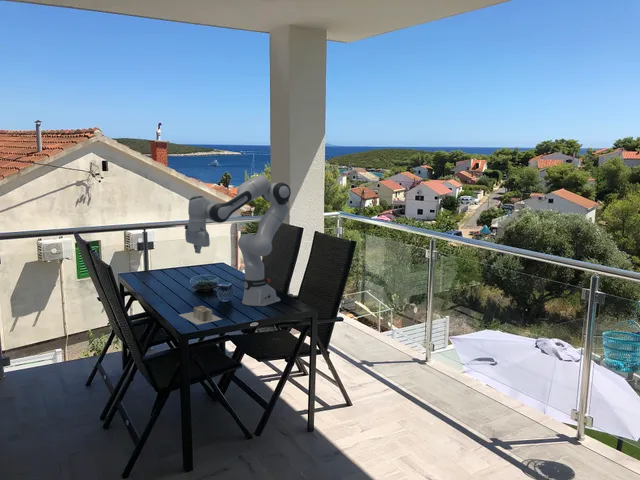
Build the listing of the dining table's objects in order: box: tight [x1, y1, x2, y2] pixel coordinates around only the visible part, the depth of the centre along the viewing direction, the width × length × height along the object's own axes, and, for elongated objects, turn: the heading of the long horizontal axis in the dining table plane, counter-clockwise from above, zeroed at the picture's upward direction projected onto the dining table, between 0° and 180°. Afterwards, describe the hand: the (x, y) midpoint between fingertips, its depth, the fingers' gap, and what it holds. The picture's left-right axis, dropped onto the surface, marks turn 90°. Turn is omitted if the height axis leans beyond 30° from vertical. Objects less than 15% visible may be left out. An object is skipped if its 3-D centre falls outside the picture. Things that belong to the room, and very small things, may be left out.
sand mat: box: [179, 311, 223, 326], centre depth 244 cm, size 14×20×1 cm
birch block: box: [193, 305, 213, 322], centre depth 241 cm, size 5×5×10 cm
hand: (197, 253), depth 252 cm, fingers closed
